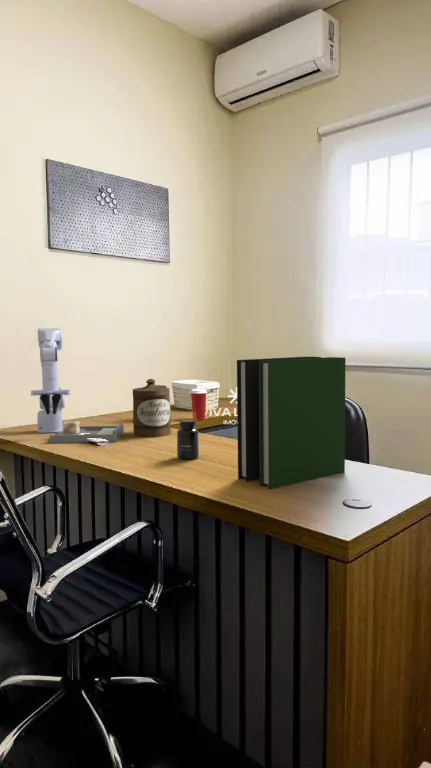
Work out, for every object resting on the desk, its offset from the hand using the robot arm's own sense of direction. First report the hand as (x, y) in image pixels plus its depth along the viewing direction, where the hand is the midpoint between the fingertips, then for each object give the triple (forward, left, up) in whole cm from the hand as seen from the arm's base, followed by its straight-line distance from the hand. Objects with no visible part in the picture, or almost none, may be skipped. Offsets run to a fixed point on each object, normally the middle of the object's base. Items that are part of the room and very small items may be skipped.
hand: (51, 413), depth 205 cm
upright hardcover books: (+83, -61, -10) cm, 103 cm away
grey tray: (+14, 0, -9) cm, 17 cm away
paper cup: (+56, +40, -10) cm, 69 cm away
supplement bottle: (+54, -38, -10) cm, 67 cm away
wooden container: (+38, +6, -10) cm, 40 cm away
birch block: (+8, 0, -7) cm, 11 cm away
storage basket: (+54, +79, -10) cm, 96 cm away
